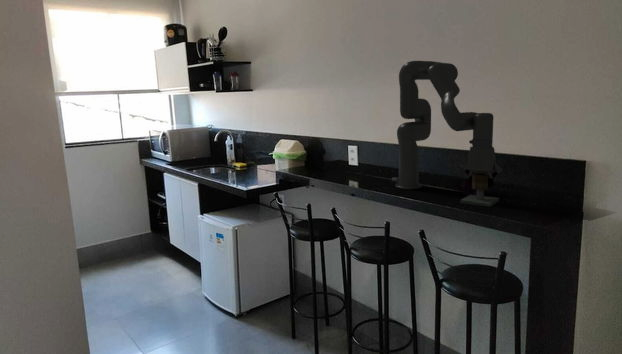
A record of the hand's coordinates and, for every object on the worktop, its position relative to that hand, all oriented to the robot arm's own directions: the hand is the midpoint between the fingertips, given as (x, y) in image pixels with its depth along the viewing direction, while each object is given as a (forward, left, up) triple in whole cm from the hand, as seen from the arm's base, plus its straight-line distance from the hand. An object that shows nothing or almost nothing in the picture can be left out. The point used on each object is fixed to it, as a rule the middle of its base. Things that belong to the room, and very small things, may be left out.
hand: (480, 186), depth 182 cm
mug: (-9, +11, -7) cm, 16 cm away
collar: (0, 0, -1) cm, 1 cm away
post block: (0, 0, -7) cm, 7 cm away
